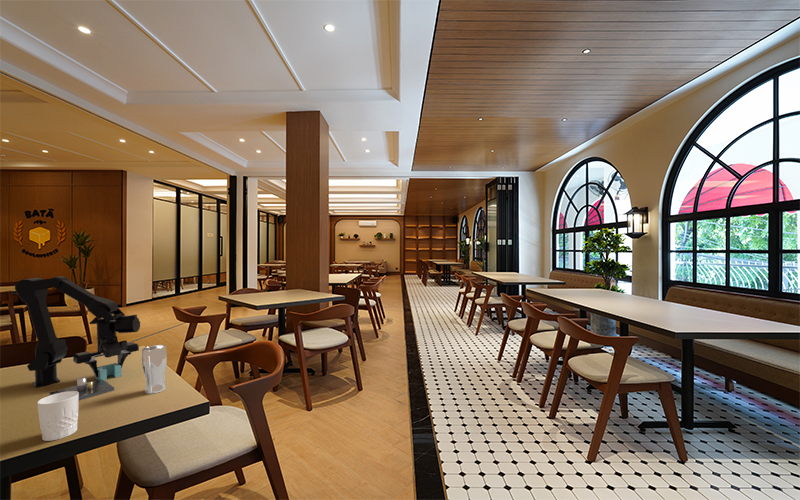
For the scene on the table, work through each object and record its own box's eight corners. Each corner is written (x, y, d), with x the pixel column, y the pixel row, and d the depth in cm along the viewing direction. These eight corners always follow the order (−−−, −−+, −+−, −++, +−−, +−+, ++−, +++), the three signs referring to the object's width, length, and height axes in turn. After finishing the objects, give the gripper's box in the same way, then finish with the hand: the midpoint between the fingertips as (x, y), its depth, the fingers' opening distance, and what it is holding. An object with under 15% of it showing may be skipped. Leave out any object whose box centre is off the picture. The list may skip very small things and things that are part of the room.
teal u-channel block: (95, 378, 134) (94, 367, 134) (116, 372, 139) (115, 362, 139) (100, 381, 130) (100, 370, 130) (121, 376, 135) (121, 365, 135)
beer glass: (172, 386, 124) (171, 344, 123) (157, 394, 117) (155, 350, 116) (154, 386, 124) (152, 344, 124) (137, 394, 117) (136, 350, 117)
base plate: (49, 395, 118) (48, 381, 118) (101, 381, 130) (101, 368, 130) (59, 405, 110) (58, 390, 110) (114, 390, 122) (113, 375, 121)
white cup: (87, 429, 95) (85, 392, 95) (50, 444, 88) (48, 405, 88) (68, 424, 98) (67, 389, 98) (31, 440, 91) (30, 401, 90)
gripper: (80, 343, 122) (82, 387, 122) (143, 331, 137) (144, 370, 137) (72, 338, 128) (73, 380, 129) (133, 328, 144) (134, 365, 144)
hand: (108, 374), depth 134 cm, fingers closed on teal u-channel block, 6 cm apart
